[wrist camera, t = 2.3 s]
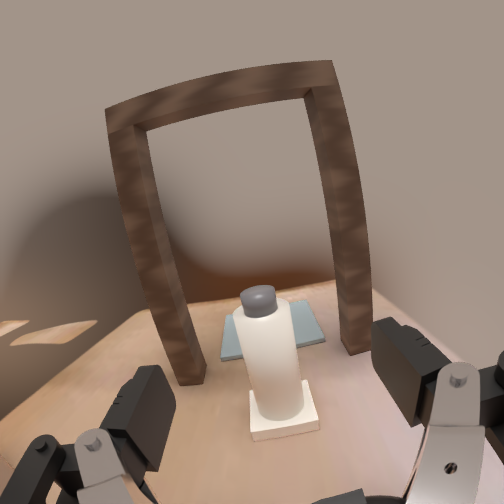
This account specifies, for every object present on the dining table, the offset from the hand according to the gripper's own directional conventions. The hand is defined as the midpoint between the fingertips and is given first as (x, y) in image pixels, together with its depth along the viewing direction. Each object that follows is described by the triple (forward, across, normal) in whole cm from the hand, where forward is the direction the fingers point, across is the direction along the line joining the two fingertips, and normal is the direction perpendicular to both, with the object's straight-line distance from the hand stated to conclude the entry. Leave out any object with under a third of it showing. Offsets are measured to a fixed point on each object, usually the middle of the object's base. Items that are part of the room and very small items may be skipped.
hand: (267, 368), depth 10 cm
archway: (+20, 0, +15) cm, 25 cm away
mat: (+30, 0, +14) cm, 33 cm away
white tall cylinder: (+12, 0, +15) cm, 19 cm away
